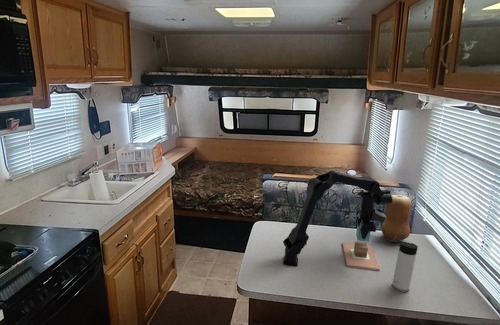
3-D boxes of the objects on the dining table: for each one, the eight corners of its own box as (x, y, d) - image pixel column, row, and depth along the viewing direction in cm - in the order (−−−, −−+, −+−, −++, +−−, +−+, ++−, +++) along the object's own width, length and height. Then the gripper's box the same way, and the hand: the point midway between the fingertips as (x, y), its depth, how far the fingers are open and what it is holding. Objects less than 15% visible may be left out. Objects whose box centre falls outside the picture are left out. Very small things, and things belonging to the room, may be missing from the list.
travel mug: (391, 289, 127) (399, 245, 122) (392, 280, 133) (400, 237, 128) (408, 294, 125) (418, 249, 119) (409, 285, 130) (418, 242, 125)
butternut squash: (388, 231, 175) (395, 189, 168) (412, 242, 165) (421, 197, 158) (374, 238, 167) (381, 194, 160) (398, 250, 157) (407, 203, 150)
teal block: (369, 241, 145) (370, 231, 143) (357, 240, 145) (359, 230, 144) (366, 236, 149) (368, 226, 148) (355, 234, 150) (357, 225, 149)
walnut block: (366, 257, 147) (367, 248, 145) (355, 256, 148) (356, 246, 146) (364, 252, 152) (366, 242, 150) (353, 250, 152) (355, 241, 151)
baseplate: (379, 270, 139) (380, 268, 139) (346, 266, 141) (347, 264, 141) (371, 247, 158) (371, 245, 158) (342, 243, 160) (342, 241, 160)
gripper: (391, 215, 133) (385, 248, 137) (381, 199, 150) (376, 228, 155) (363, 212, 134) (358, 245, 139) (357, 196, 152) (352, 226, 156)
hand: (362, 236), depth 147 cm, fingers closed on teal block, 5 cm apart
